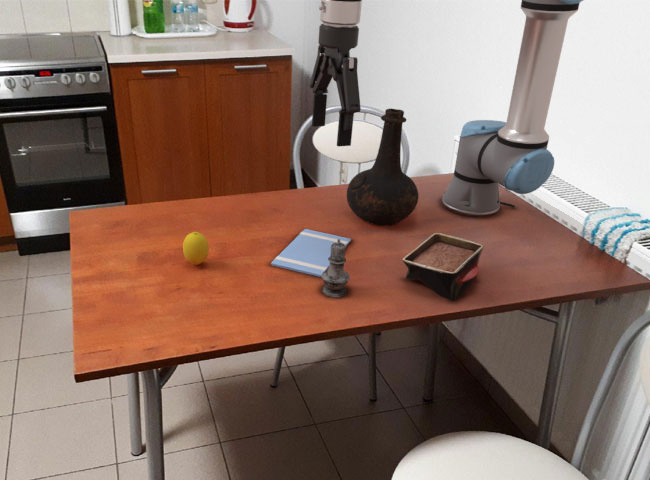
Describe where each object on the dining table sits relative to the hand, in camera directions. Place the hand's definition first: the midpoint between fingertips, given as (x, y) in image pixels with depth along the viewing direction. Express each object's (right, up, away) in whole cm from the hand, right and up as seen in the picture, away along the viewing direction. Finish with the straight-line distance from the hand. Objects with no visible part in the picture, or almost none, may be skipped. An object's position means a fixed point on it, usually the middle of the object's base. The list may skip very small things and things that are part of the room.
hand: (330, 135), depth 131 cm
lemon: (-29, -26, +9) cm, 40 cm away
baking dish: (+24, -30, +7) cm, 39 cm away
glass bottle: (+15, -13, +34) cm, 39 cm away
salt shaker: (+1, -32, +1) cm, 32 cm away
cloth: (-3, -23, +16) cm, 28 cm away
